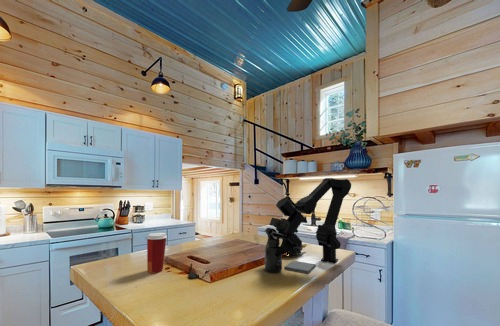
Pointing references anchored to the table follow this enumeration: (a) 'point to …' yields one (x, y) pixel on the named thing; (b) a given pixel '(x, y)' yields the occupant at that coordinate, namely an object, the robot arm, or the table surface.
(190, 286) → the table surface
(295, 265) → the mat
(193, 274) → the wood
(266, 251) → the supplement bottle
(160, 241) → the paper cup
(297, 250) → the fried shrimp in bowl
